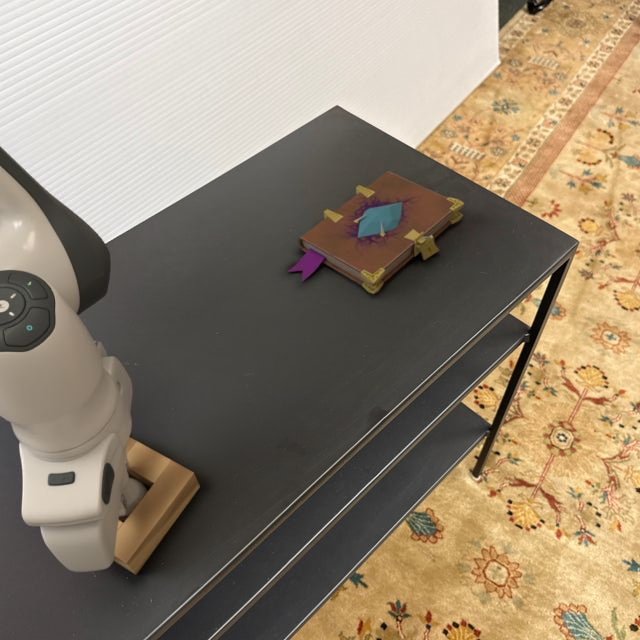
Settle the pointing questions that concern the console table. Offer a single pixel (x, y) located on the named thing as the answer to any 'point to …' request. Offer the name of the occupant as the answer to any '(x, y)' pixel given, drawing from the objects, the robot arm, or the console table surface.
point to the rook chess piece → (131, 493)
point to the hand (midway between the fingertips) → (120, 491)
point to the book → (378, 231)
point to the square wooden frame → (152, 504)
